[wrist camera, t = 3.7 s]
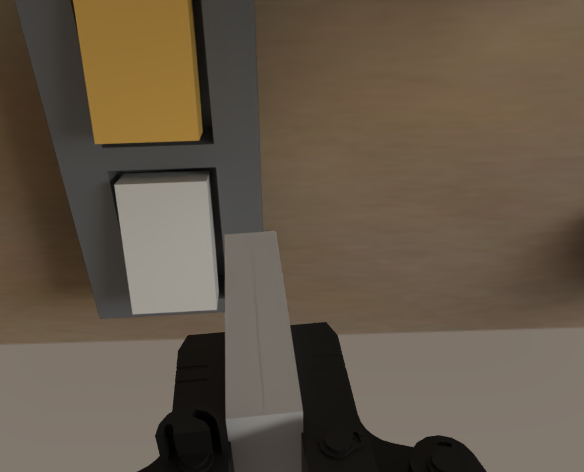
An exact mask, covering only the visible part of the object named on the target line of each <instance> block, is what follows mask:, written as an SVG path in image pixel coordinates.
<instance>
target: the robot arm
mask: <svg viewBox="0 0 584 472" xmlns="http://www.w3.org/2000/svg"><path fill="white" fill-rule="evenodd" d="M155 437H156V441H157V445H158V450H159V454H160V456H159V457H158V458H157V459H156V460H155V461H154V462H153V463H151V464H150V465H149V466H147V467H145V468H144V469H142V470H140V471H138V472H486V470H485V469H484V468H483V466H482V465H481V463H480V462H479V461H478V459H477V458H476V457H475V455H474V454H473V453H472V452H471V451H470V450H469V449H468V448H467V447H466V446H465V445H464V444H462V443H461V442H459V441H457V440H455V439H453V438H450V437H445V436H439V435H438V436H431V437H426V438H424V439H423V440H421V441H419V442H417V443H416V445H415V446H414V447H409V446H404V445H399V444H394V443H390V442H387V441H383V440H381V439H379V438H378V437H376V436H374V435H373V434H371V433H370V432H369V431H368V430H366V428H365V427H364V426H363V424H362V423H361V421H360V419H359V416H358V414H357V410H356V406H355V402H354V398H353V394H352V390H351V386H350V383H349V378H348V375H347V370H346V368H345V363H344V359H343V355H342V351H341V347H340V343H339V339H338V335H337V334H336V333H335V332H334V331H333V330H332V328H331V327H330V326H329V325H328V324H327V323H326V322H322V323H311V324H299V325H290V322H289V315H288V309H287V302H286V296H285V289H284V282H283V276H282V269H281V263H280V256H279V249H278V243H277V236H276V231H266V232H253V233H239V234H225V332H221V333H209V334H197V335H188V336H187V338H186V339H185V341H184V342H183V344H182V345H181V347H180V349H179V350H178V359H177V371H176V379H175V389H174V400H173V410H172V412H171V413H169V414H168V415H167V416H166V417H165V418H164V419H163V421H162V422H161V423H160V424H159V426H158V429H157V432H156V435H155Z"/></svg>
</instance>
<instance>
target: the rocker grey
mask: <svg viewBox="0 0 584 472" xmlns="http://www.w3.org/2000/svg"><path fill="white" fill-rule="evenodd" d="M114 187H115V194H116V201H117V208H118V215H119V222H120V229H121V236H122V243H123V250H124V257H125V264H126V271H127V278H128V285H129V292H130V299H131V307H132V314H150V313H169V312H187V311H206V310H217V304H218V295H219V288H218V274H217V261H216V248H215V235H214V222H213V209H212V196H211V182H210V171H186V172H159V173H133V174H123V175H122V176H121V177H120V179H119V180H118V181H117V182H116V183H115V185H114Z"/></svg>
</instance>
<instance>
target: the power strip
mask: <svg viewBox="0 0 584 472" xmlns="http://www.w3.org/2000/svg"><path fill="white" fill-rule="evenodd" d="M192 1H193V14H194V27H195V39H196V52H197V65H198V78H199V90H200V103H201V116H202V128H203V133H202V135H201V137H200V140H199V141H174V142H145V143H116V144H95V142H94V135H93V129H92V122H91V116H90V109H89V102H88V96H87V89H86V82H85V76H84V69H83V63H82V56H81V49H80V43H79V36H78V29H77V23H76V16H75V10H74V3H73V0H15V4H16V8H17V12H18V15H19V19H20V23H21V26H22V30H23V34H24V38H25V41H26V45H27V49H28V52H29V56H30V60H31V64H32V67H33V71H34V75H35V79H36V82H37V86H38V90H39V93H40V97H41V101H42V105H43V108H44V112H45V116H46V120H47V123H48V127H49V131H50V134H51V138H52V142H53V146H54V149H55V153H56V157H57V160H58V164H59V168H60V172H61V175H62V179H63V183H64V187H65V190H66V194H67V198H68V201H69V205H70V209H71V213H72V216H73V220H74V224H75V228H76V231H77V235H78V239H79V242H80V246H81V250H82V254H83V257H84V261H85V265H86V268H87V272H88V276H89V280H90V283H91V287H92V291H93V295H94V298H95V302H96V306H97V309H98V313H99V317H100V319H106V318H125V317H143V316H161V315H180V314H198V313H216V312H225V234H239V233H253V232H263V216H262V189H261V163H260V137H259V111H258V85H257V59H256V32H255V6H254V0H192ZM186 171H210V182H211V196H212V209H213V222H214V235H215V248H216V261H217V274H218V288H219V295H218V304H217V310H206V311H187V312H169V313H150V314H132V307H131V299H130V292H129V285H128V278H127V271H126V264H125V257H124V250H123V243H122V236H121V229H120V222H119V215H118V208H117V201H116V194H115V187H114V185H115V183H116V182H117V181H118V180H119V179H120V177H121V176H122V175H123V174H133V173H159V172H186Z"/></svg>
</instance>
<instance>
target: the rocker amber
mask: <svg viewBox="0 0 584 472" xmlns="http://www.w3.org/2000/svg"><path fill="white" fill-rule="evenodd" d="M73 3H74V10H75V16H76V23H77V29H78V36H79V43H80V49H81V56H82V63H83V69H84V76H85V82H86V89H87V96H88V102H89V109H90V116H91V122H92V129H93V135H94V142H95V144H116V143H145V142H174V141H199V140H200V137H201V135H202V133H203V128H202V116H201V103H200V90H199V78H198V65H197V52H196V39H195V27H194V14H193V1H192V0H73Z"/></svg>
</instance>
